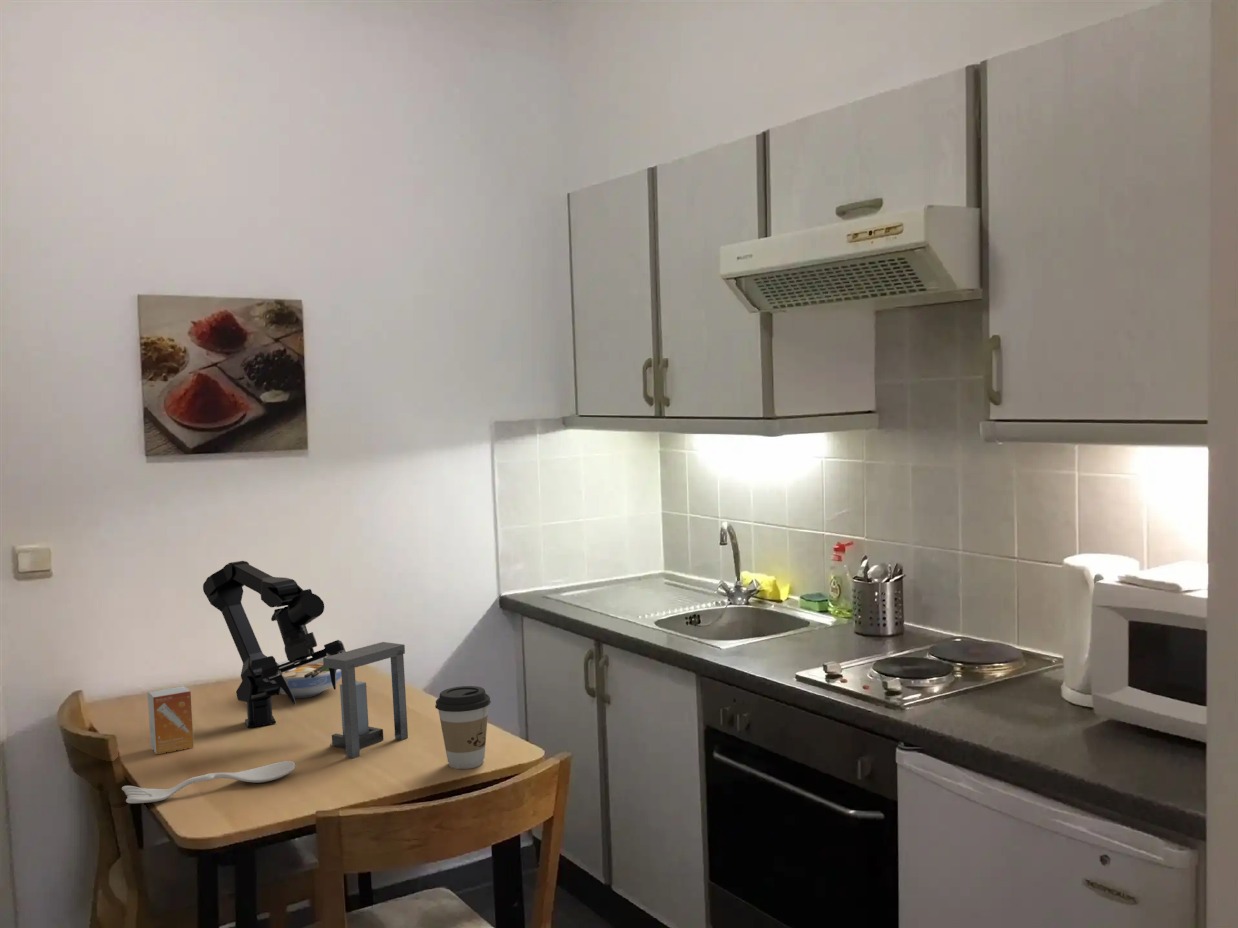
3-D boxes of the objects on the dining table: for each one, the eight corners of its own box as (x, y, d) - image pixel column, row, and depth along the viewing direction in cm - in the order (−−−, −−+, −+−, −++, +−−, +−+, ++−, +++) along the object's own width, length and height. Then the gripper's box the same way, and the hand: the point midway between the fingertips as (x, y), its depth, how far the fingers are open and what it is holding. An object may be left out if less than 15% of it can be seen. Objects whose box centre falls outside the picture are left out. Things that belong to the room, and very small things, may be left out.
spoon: (122, 801, 213) (121, 784, 212) (290, 768, 228) (289, 752, 228) (127, 815, 205) (125, 797, 205) (300, 780, 220) (299, 763, 220)
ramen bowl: (285, 682, 303) (283, 653, 302) (364, 681, 300) (363, 652, 299) (242, 707, 278) (240, 675, 278) (328, 707, 275) (326, 674, 275)
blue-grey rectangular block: (343, 742, 243) (339, 684, 242) (357, 737, 246) (353, 680, 246) (355, 745, 241) (352, 686, 240) (369, 740, 244) (366, 682, 243)
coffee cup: (469, 775, 218) (465, 701, 217) (426, 768, 224) (422, 695, 223) (505, 758, 227) (501, 687, 226) (462, 751, 233) (459, 682, 233)
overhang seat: (313, 750, 239) (307, 655, 238) (372, 730, 253) (367, 639, 252) (350, 758, 232) (345, 660, 231) (409, 737, 246) (404, 644, 245)
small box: (156, 755, 241) (152, 696, 240) (150, 748, 246) (146, 691, 245) (194, 747, 245) (191, 690, 245) (188, 741, 251) (184, 685, 250)
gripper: (247, 641, 242) (268, 708, 238) (330, 612, 246) (352, 677, 243) (255, 648, 252) (276, 713, 249) (335, 620, 257) (356, 683, 253)
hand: (315, 696), depth 248 cm, fingers open, 9 cm apart
